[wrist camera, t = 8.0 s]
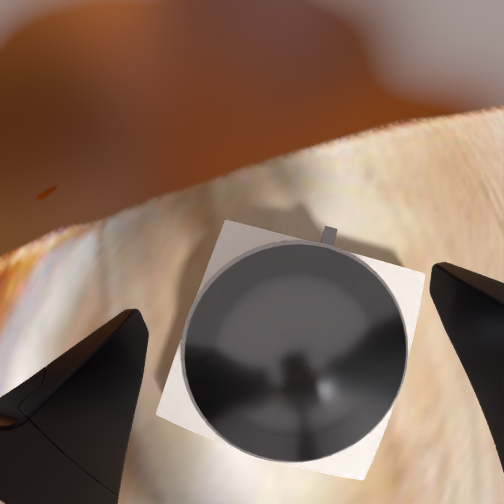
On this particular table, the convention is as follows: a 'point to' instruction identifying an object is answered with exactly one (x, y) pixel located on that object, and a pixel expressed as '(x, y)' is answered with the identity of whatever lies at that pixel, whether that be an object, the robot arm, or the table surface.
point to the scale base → (242, 240)
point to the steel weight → (295, 352)
